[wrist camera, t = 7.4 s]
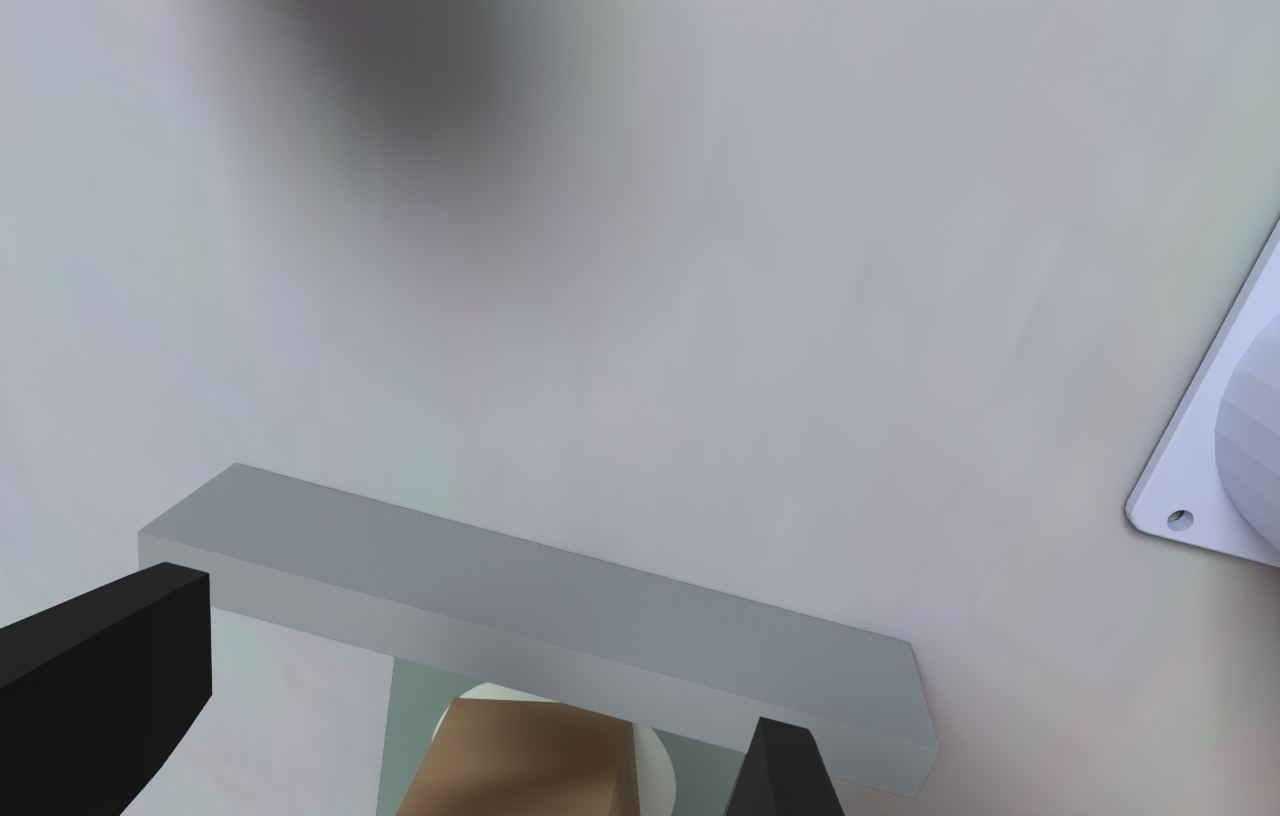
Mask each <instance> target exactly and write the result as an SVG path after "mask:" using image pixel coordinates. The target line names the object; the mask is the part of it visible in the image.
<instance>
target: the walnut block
mask: <svg viewBox="0 0 1280 816" xmlns="http://www.w3.org/2000/svg"><path fill="white" fill-rule="evenodd" d="M395 816H641V815H640V803H639V792H638V781H637V770H636V759H635V748H634V737H633V726H632V722H630V721H626V720H623V719H619V718H616V717H612V716H608V715H605V714H601V713H597V712H594V711H590V710H587V709H583V708H579V707H576V706H572V705H568V704H565V703H561V702H540V701H518V700H495V699H473V698H453V700H452V702H451V705H450V707H449V709H448V711H447V713H446V715H445V717H444V719H443V721H442V723H441V725H440V727H439V729H438V731H437V733H436V735H435V737H434V739H433V741H432V743H431V745H430V747H429V749H428V751H427V753H426V755H425V757H424V759H423V761H422V763H421V765H420V767H419V769H418V771H417V773H416V775H415V777H414V779H413V781H412V783H411V785H410V787H409V789H408V791H407V793H406V795H405V797H404V799H403V801H402V803H401V805H400V807H399V809H398V811H397V813H396V815H395Z"/></svg>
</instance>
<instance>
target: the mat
mask: <svg viewBox="0 0 1280 816" xmlns="http://www.w3.org/2000/svg"><path fill="white" fill-rule="evenodd" d="M453 698H473V699H495V700H518V701H540V702H557V701H554V700H550V699H547V698H543V697H539V696H536V695H532V694H528V693H525V692H521V691H517V690H514V689H510V688H507V687H503V686H499V685H496V684H492V683H488V682H485V681H481V680H477V679H474V678H470V677H467V676H463V675H459V674H456V673H452V672H448V671H445V670H441V669H438V668H434V667H430V666H427V665H423V664H419V663H416V662H412V661H408V660H405V659H401V658H398V657H395V659H394V667H393V675H392V684H391V692H390V701H389V709H388V718H387V726H386V734H385V743H384V751H383V760H382V768H381V777H380V785H379V793H378V802H377V810H376V816H395V815H396V813H397V811H398V809H399V807H400V805H401V803H402V801H403V799H404V797H405V795H406V793H407V791H408V789H409V787H410V785H411V783H412V781H413V779H414V777H415V775H416V773H417V771H418V769H419V767H420V765H421V763H422V761H423V759H424V757H425V755H426V753H427V751H428V749H429V747H430V745H431V743H432V741H433V739H434V737H435V735H436V733H437V731H438V729H439V727H440V725H441V723H442V721H443V719H444V717H445V715H446V713H447V711H448V709H449V707H450V705H451V702H452V700H453ZM632 726H633V737H634V748H635V759H636V770H637V781H638V792H639V803H640V815H641V816H723V814H724V811H725V809H726V806H727V803H728V800H729V798H730V795H731V792H732V790H733V787H734V784H735V781H736V779H737V776H738V773H739V771H740V768H741V765H742V763H743V760H744V757H745V754H746V753H743V752H739V751H735V750H732V749H728V748H725V747H721V746H717V745H714V744H710V743H706V742H703V741H699V740H696V739H692V738H688V737H685V736H681V735H677V734H674V733H670V732H666V731H663V730H659V729H656V728H652V727H648V726H645V725H641V724H637V723H634V722H632Z"/></svg>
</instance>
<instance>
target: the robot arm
mask: <svg viewBox="0 0 1280 816" xmlns="http://www.w3.org/2000/svg"><path fill="white" fill-rule="evenodd" d="M1125 510H1126V515H1127V517H1128V519H1129V520H1130V521H1131V522H1132V523H1133V524H1134V526H1135V527H1136V528H1137V529H1138V530H1140V531H1143V532H1145V533H1148V534H1152V535H1156V536H1160V537H1163V538H1167V539H1171V540H1175V541H1179V542H1183V543H1187V544H1191V545H1195V546H1198V547H1202V548H1206V549H1210V550H1214V551H1218V552H1222V553H1226V554H1229V555H1233V556H1237V557H1241V558H1245V559H1249V560H1253V561H1257V562H1261V563H1264V564H1268V565H1272V566H1276V567H1280V219H1279V221H1278V223H1277V225H1276V227H1275V228H1274V230H1273V232H1272V234H1271V236H1270V238H1269V240H1268V241H1267V243H1266V245H1265V247H1264V249H1263V251H1262V253H1261V254H1260V256H1259V258H1258V260H1257V262H1256V264H1255V266H1254V267H1253V269H1252V271H1251V273H1250V275H1249V277H1248V279H1247V280H1246V282H1245V284H1244V286H1243V288H1242V290H1241V292H1240V293H1239V295H1238V297H1237V299H1236V301H1235V303H1234V305H1233V306H1232V308H1231V310H1230V312H1229V314H1228V316H1227V318H1226V319H1225V321H1224V323H1223V325H1222V327H1221V329H1220V331H1219V332H1218V334H1217V336H1216V338H1215V340H1214V342H1213V344H1212V345H1211V347H1210V349H1209V351H1208V353H1207V355H1206V357H1205V358H1204V360H1203V362H1202V364H1201V366H1200V368H1199V370H1198V371H1197V373H1196V375H1195V377H1194V379H1193V381H1192V382H1191V384H1190V386H1189V388H1188V390H1187V392H1186V394H1185V395H1184V397H1183V399H1182V401H1181V403H1180V405H1179V407H1178V408H1177V410H1176V412H1175V414H1174V416H1173V418H1172V420H1171V421H1170V423H1169V425H1168V427H1167V429H1166V431H1165V433H1164V434H1163V436H1162V438H1161V440H1160V442H1159V444H1158V446H1157V447H1156V449H1155V451H1154V453H1153V455H1152V457H1151V459H1150V460H1149V462H1148V464H1147V466H1146V468H1145V470H1144V472H1143V473H1142V475H1141V477H1140V479H1139V481H1138V483H1137V485H1136V486H1135V488H1134V490H1133V492H1132V494H1131V496H1130V498H1129V499H1128V501H1127V505H1126V508H1125ZM1178 510H1184V515H1183V516H1182V517H1181V518H1180V519H1179V520H1176V521H1174V522H1167V520H1168V517H1169V516H1170V515H1171V514H1172V513H1173V512H1176V511H1178ZM211 696H212V662H211V616H210V573H208V572H204V571H200V570H196V569H192V568H188V567H185V566H181V565H177V564H173V563H169V562H162V563H160V564H157V565H154V566H151V567H149V568H146V569H143V570H141V571H138V572H136V573H133V574H131V575H128V576H126V577H123V578H121V579H118V580H116V581H113V582H111V583H109V584H106V585H104V586H101V587H99V588H97V589H94V590H92V591H89V592H87V593H85V594H82V595H80V596H77V597H75V598H73V599H70V600H68V601H66V602H63V603H61V604H58V605H56V606H54V607H51V608H49V609H47V610H44V611H42V612H39V613H37V614H35V615H32V616H30V617H27V618H25V619H22V620H20V621H18V622H15V623H13V624H10V625H8V626H6V627H3V628H1V629H0V816H120V814H121V813H122V812H123V811H124V810H125V809H126V808H127V806H128V805H129V804H130V803H131V802H132V801H133V800H134V798H135V797H136V796H137V795H138V794H139V793H140V792H141V791H142V789H143V788H144V787H145V786H146V785H147V784H148V782H149V781H150V780H151V779H152V778H153V777H154V775H155V774H156V773H157V772H158V771H159V770H160V768H161V767H162V766H163V764H164V763H165V762H166V760H167V759H168V757H169V756H170V755H171V753H172V752H173V751H174V749H175V748H176V746H177V745H178V744H179V742H180V741H181V740H182V738H183V737H184V735H185V734H186V732H187V731H188V730H189V728H190V727H191V725H192V724H193V722H194V721H195V719H196V718H197V716H198V715H199V713H200V712H201V710H202V709H203V707H204V706H205V704H206V703H207V702H208V700H209V699H210V697H211ZM726 816H845V815H844V812H843V810H842V808H841V805H840V803H839V800H838V798H837V795H836V793H835V790H834V788H833V786H832V783H831V780H830V778H829V775H828V773H827V770H826V768H825V765H824V762H823V760H822V757H821V755H820V752H819V749H818V747H817V744H816V741H815V739H814V737H813V735H812V734H811V732H810V730H809V729H807V728H803V727H799V726H795V725H792V724H788V723H784V722H780V721H776V720H772V719H769V718H765V717H761V716H760V718H759V721H758V723H757V726H756V729H755V732H754V735H753V738H752V741H751V744H750V747H749V750H748V752H747V755H746V758H745V761H744V764H743V767H742V770H741V773H740V776H739V779H738V781H737V784H736V787H735V790H734V793H733V796H732V799H731V802H730V805H729V808H728V810H727V813H726Z"/></svg>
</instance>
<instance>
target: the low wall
mask: <svg viewBox="0 0 1280 816" xmlns="http://www.w3.org/2000/svg"><path fill="white" fill-rule="evenodd" d="M138 553H139V571H141V570H143V569H146V568H149V567H151V566H154V565H157V564H160V563H162V562H169V563H173V564H177V565H181V566H185V567H188V568H192V569H196V570H200V571H204V572H208V573H210V606H212V607H216V608H219V609H223V610H227V611H230V612H234V613H238V614H241V615H245V616H249V617H252V618H256V619H259V620H263V621H267V622H270V623H274V624H278V625H281V626H285V627H289V628H292V629H296V630H299V631H303V632H307V633H310V634H314V635H318V636H321V637H325V638H328V639H332V640H336V641H339V642H343V643H347V644H350V645H354V646H358V647H361V648H365V649H368V650H372V651H376V652H379V653H383V654H387V655H390V656H394V657H398V658H401V659H405V660H408V661H412V662H416V663H419V664H423V665H427V666H430V667H434V668H438V669H441V670H445V671H448V672H452V673H456V674H459V675H463V676H467V677H470V678H474V679H477V680H481V681H485V682H488V683H492V684H496V685H499V686H503V687H507V688H510V689H514V690H517V691H521V692H525V693H528V694H532V695H536V696H539V697H543V698H547V699H550V700H554V701H557V702H561V703H565V704H568V705H572V706H576V707H579V708H583V709H587V710H590V711H594V712H597V713H601V714H605V715H608V716H612V717H616V718H619V719H623V720H626V721H630V722H634V723H637V724H641V725H645V726H648V727H652V728H656V729H659V730H663V731H666V732H670V733H674V734H677V735H681V736H685V737H688V738H692V739H696V740H699V741H703V742H706V743H710V744H714V745H717V746H721V747H725V748H728V749H732V750H735V751H739V752H743V753H746V754H747V752H748V750H749V747H750V744H751V741H752V738H753V735H754V732H755V729H756V726H757V723H758V721H759V718H760V716H761V717H765V718H769V719H772V720H776V721H780V722H784V723H788V724H792V725H795V726H799V727H803V728H807V729H809V730H810V732H811V734H812V735H813V737H814V739H815V741H816V744H817V747H818V749H819V752H820V755H821V757H822V760H823V762H824V765H825V768H826V770H827V773H828V775H829V776H830V777H834V778H837V779H841V780H845V781H848V782H852V783H855V784H859V785H863V786H866V787H870V788H874V789H877V790H881V791H884V792H888V793H892V794H895V795H899V796H903V797H906V798H910V799H914V800H915V799H916V797H917V795H918V793H919V791H920V789H921V787H922V785H923V783H924V781H925V779H926V777H927V775H928V773H929V771H930V769H931V768H932V766H933V764H934V762H935V760H936V758H937V756H938V754H939V752H940V748H939V744H938V741H937V737H936V734H935V730H934V727H933V723H932V720H931V716H930V713H929V709H928V706H927V702H926V699H925V695H924V692H923V688H922V685H921V681H920V678H919V674H918V671H917V667H916V664H915V660H914V656H913V653H912V649H911V646H910V643H907V642H904V641H900V640H896V639H892V638H889V637H885V636H881V635H877V634H874V633H870V632H866V631H862V630H859V629H855V628H851V627H847V626H844V625H840V624H836V623H832V622H829V621H825V620H821V619H817V618H814V617H810V616H806V615H802V614H799V613H795V612H791V611H787V610H784V609H780V608H776V607H772V606H769V605H765V604H761V603H757V602H754V601H750V600H746V599H742V598H739V597H735V596H731V595H727V594H724V593H720V592H716V591H713V590H709V589H705V588H701V587H698V586H694V585H690V584H686V583H683V582H679V581H675V580H671V579H668V578H664V577H660V576H656V575H653V574H649V573H645V572H641V571H638V570H634V569H630V568H626V567H623V566H619V565H615V564H611V563H608V562H604V561H600V560H596V559H593V558H589V557H585V556H581V555H578V554H574V553H570V552H566V551H563V550H559V549H555V548H551V547H548V546H544V545H540V544H536V543H533V542H529V541H525V540H521V539H518V538H514V537H510V536H506V535H503V534H499V533H495V532H491V531H488V530H484V529H480V528H476V527H473V526H469V525H465V524H461V523H458V522H454V521H450V520H446V519H443V518H439V517H435V516H431V515H428V514H424V513H420V512H416V511H413V510H409V509H405V508H401V507H398V506H394V505H390V504H386V503H383V502H379V501H375V500H371V499H368V498H364V497H360V496H356V495H353V494H349V493H345V492H341V491H338V490H334V489H330V488H326V487H323V486H319V485H315V484H311V483H308V482H304V481H300V480H296V479H293V478H289V477H285V476H281V475H278V474H274V473H270V472H266V471H263V470H259V469H255V468H251V467H248V466H244V465H240V464H236V463H234V464H233V465H231V466H230V467H229V468H227V469H226V470H224V471H223V472H221V473H220V474H219V475H217V476H216V477H214V478H213V479H212V480H210V481H209V482H207V483H206V484H204V485H203V486H202V487H200V488H199V489H197V490H196V491H195V492H193V493H192V494H190V495H189V496H188V497H186V498H185V499H183V500H182V501H180V502H179V503H178V504H176V505H175V506H173V507H172V508H171V509H169V510H168V511H166V512H165V513H163V514H162V515H161V516H159V517H158V518H156V519H155V520H154V521H152V522H151V523H149V524H148V525H146V526H145V527H144V528H142V529H141V530H139V531H138Z"/></svg>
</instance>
